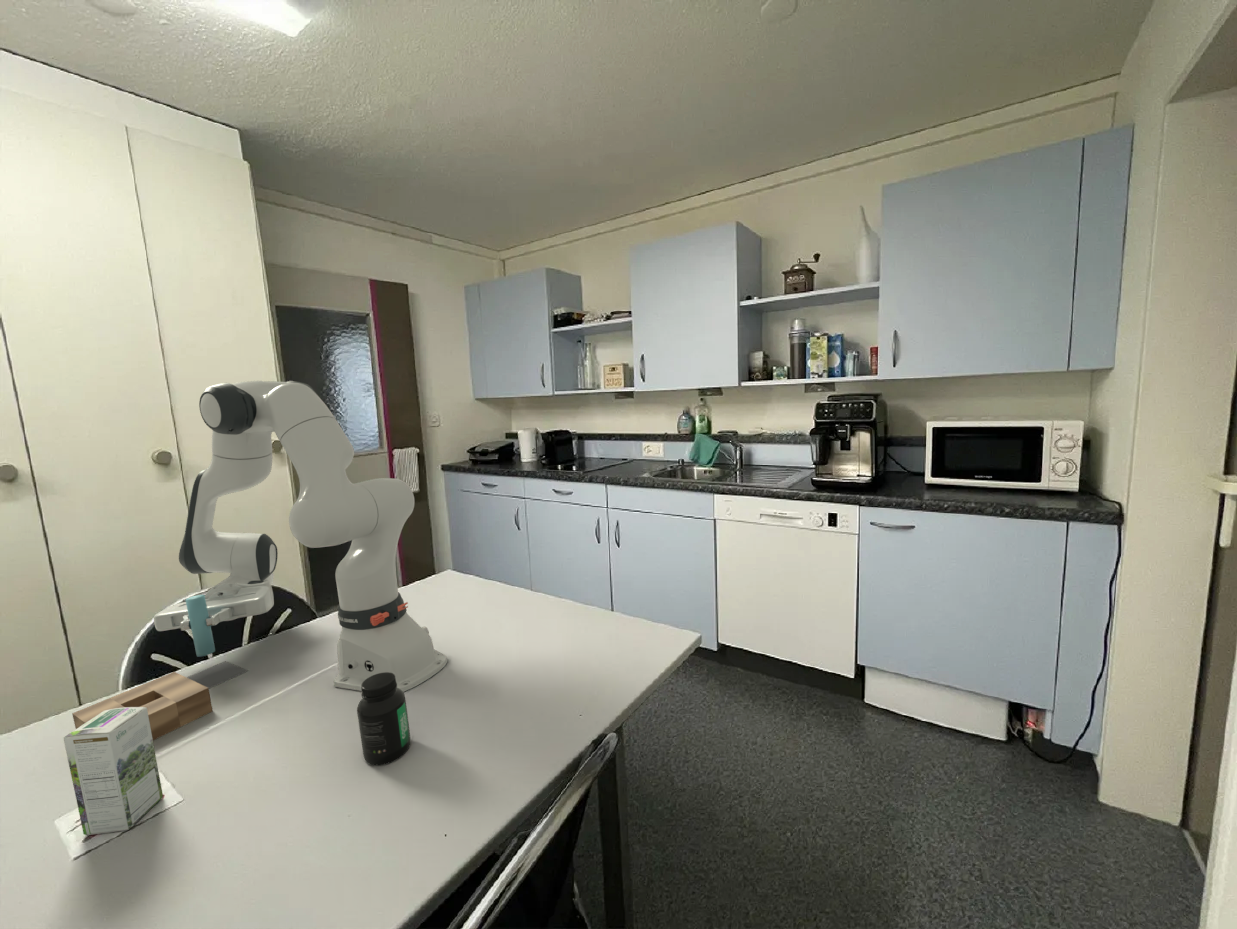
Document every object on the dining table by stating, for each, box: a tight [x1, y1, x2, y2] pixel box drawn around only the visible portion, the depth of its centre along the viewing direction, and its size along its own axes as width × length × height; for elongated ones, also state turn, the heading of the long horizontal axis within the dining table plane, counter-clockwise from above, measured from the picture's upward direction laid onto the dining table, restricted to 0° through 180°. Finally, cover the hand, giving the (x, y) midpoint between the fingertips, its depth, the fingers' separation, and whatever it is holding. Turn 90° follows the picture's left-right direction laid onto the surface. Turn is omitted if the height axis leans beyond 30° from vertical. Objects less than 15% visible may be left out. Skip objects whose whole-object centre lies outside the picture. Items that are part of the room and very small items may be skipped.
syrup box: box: [63, 707, 164, 836], centre depth 67 cm, size 6×6×14 cm
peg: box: [185, 594, 216, 658], centre depth 101 cm, size 3×3×12 cm
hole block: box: [72, 671, 214, 741], centre depth 88 cm, size 14×14×5 cm
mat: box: [186, 660, 250, 689], centre depth 103 cm, size 10×10×1 cm
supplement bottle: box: [356, 672, 412, 766], centre depth 77 cm, size 7×7×12 cm
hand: (197, 624), depth 100 cm, fingers closed on peg, 3 cm apart
